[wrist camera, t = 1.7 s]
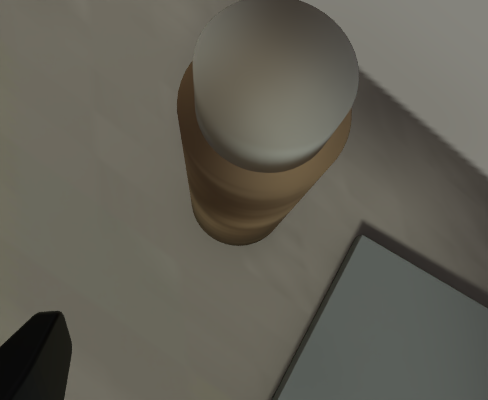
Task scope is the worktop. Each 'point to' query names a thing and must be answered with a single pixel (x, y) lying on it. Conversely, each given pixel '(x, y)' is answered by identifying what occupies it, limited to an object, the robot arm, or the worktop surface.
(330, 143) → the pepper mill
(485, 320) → the slate trivet
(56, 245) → the worktop surface
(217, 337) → the worktop surface
